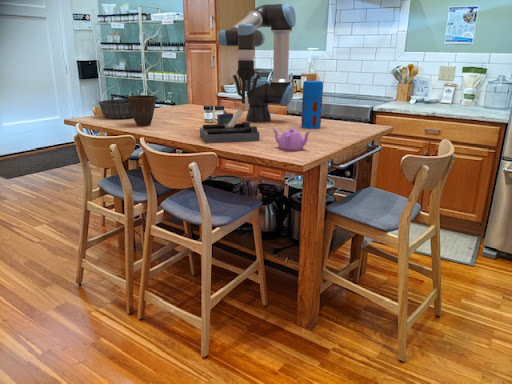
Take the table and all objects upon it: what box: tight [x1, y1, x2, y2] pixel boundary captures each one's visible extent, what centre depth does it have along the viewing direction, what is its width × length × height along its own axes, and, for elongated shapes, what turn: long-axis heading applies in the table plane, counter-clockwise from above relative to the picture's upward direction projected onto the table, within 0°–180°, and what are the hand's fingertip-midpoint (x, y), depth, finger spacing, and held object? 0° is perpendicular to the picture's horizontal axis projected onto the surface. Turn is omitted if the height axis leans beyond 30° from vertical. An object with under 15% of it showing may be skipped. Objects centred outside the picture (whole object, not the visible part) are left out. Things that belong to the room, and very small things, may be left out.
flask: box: [216, 109, 234, 124], centre depth 220 cm, size 9×3×11 cm, turn 121°
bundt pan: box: [97, 98, 133, 120], centre depth 259 cm, size 26×26×10 cm
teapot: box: [272, 128, 311, 152], centre depth 182 cm, size 12×14×9 cm
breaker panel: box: [199, 121, 260, 144], centre depth 202 cm, size 26×18×6 cm
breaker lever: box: [228, 106, 246, 126], centre depth 201 cm, size 2×5×13 cm
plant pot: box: [127, 94, 157, 127], centre depth 231 cm, size 15×15×16 cm
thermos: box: [301, 80, 324, 130], centre depth 229 cm, size 11×11×25 cm
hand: (245, 110), depth 201 cm, fingers closed
